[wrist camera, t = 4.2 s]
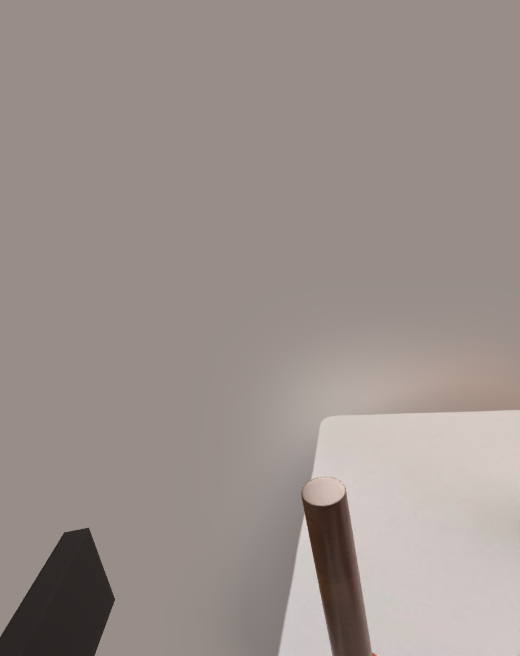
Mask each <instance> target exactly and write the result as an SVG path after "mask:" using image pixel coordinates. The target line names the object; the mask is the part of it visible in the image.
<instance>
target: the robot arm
mask: <svg viewBox="0 0 520 656" xmlns="http://www.w3.org/2000/svg"><path fill="white" fill-rule="evenodd" d="M114 601H115V598H114V595H113V593H112V590H111V587H110V584H109V582H108V579H107V576H106V574H105V571H104V568H103V566H102V563H101V560H100V557H99V554H98V552H97V549H96V546H95V543H94V541H93V538H92V535H91V533H90V530H89V528H85V529H81V530H75V531H70V532H64V534H63V536H62V537H61V539H60V540H59V542H58V544H57V545H56V547H55V549H54V550H53V552H52V554H51V555H50V557H49V558H48V560H47V562H46V564H45V565H44V567H43V568H42V570H41V571H40V573H39V575H38V576H37V578H36V580H35V581H34V583H33V585H32V586H31V588H30V589H29V591H28V593H27V594H26V596H25V598H24V599H23V601H22V602H21V604H20V606H19V607H18V609H17V611H16V612H15V614H14V616H13V617H12V619H11V620H10V622H9V624H8V626H7V627H6V629H5V630H4V632H3V633H2V635H1V637H0V656H94V655H95V653H96V650H97V647H98V644H99V641H100V639H101V636H102V634H103V631H104V628H105V625H106V623H107V620H108V617H109V614H110V612H111V609H112V606H113V604H114Z"/></svg>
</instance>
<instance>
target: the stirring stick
mask: <svg viewBox="0 0 520 656" xmlns="http://www.w3.org/2000/svg"><path fill="white" fill-rule="evenodd" d="M301 495H302V501H303V506H304V511H305V516H306V521H307V526H308V532H309V537H310V542H311V547H312V552H313V557H314V562H315V568H316V573H317V578H318V583H319V588H320V593H321V598H322V604H323V609H324V614H325V619H326V624H327V629H328V634H329V640H330V645H331V650H332V655H333V656H372V650H371V644H370V637H369V631H368V625H367V619H366V612H365V606H364V600H363V594H362V587H361V581H360V575H359V569H358V562H357V556H356V550H355V543H354V537H353V531H352V525H351V518H350V512H349V506H348V500H347V493H346V488H345V486H344V484H343V483H342V482H341V481H339V480H338V479H335V478H332V477H319V478H315V479H313V480H311V481H309V482H308V483H306V484H305V485H304V487H303V489H302V493H301Z"/></svg>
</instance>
